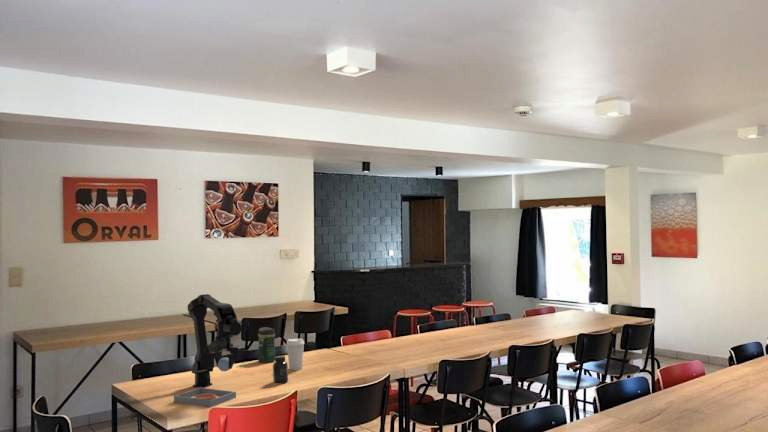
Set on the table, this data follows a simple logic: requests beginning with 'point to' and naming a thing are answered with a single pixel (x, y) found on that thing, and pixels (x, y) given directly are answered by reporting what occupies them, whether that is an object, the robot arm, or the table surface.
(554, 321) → the table surface
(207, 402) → the grey rectangular frame
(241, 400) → the table surface
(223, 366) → the ball
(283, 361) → the supplement bottle
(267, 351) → the coffee jar
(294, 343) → the coffee cup
